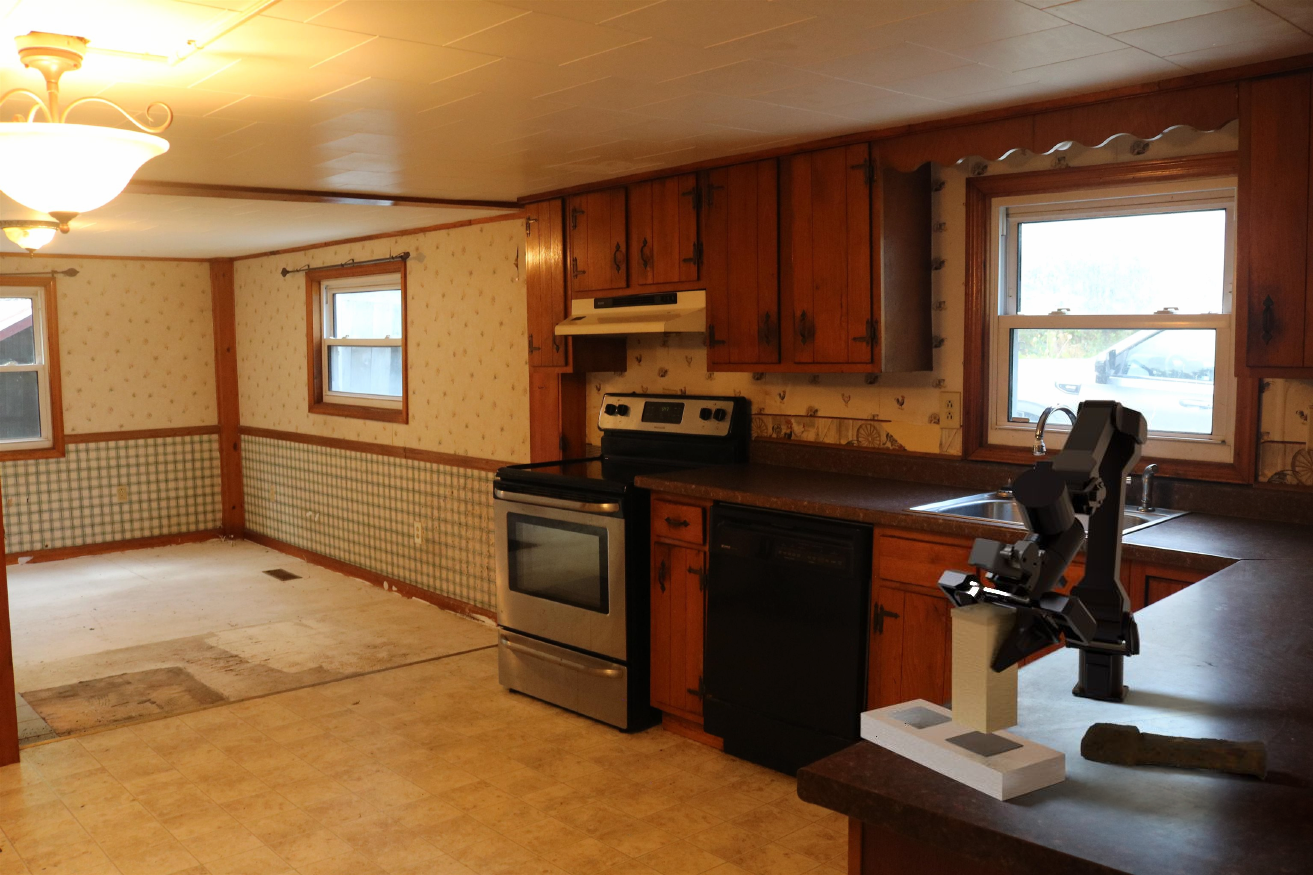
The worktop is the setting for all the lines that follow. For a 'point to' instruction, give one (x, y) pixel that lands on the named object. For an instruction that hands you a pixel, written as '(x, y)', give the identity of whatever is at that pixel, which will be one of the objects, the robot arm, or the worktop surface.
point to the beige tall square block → (982, 668)
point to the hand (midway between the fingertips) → (976, 664)
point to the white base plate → (964, 749)
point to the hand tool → (1171, 750)
